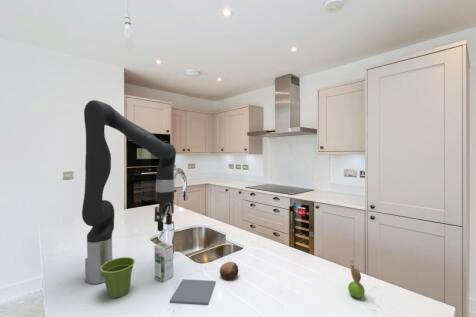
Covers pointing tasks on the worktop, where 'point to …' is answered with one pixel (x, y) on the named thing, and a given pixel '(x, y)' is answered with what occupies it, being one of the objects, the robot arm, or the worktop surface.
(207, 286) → the slate pad
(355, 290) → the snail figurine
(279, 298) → the worktop surface
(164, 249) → the syrup box
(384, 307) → the worktop surface
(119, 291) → the plant pot
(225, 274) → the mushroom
